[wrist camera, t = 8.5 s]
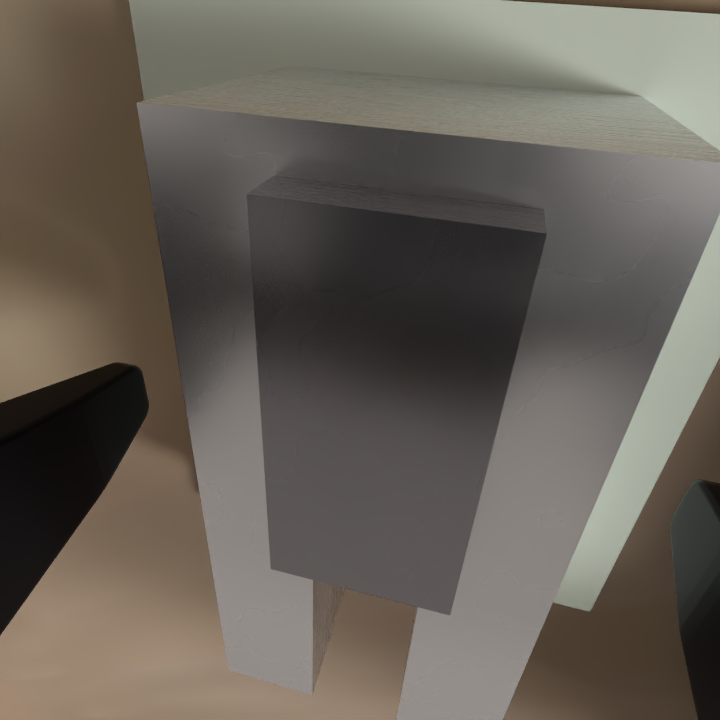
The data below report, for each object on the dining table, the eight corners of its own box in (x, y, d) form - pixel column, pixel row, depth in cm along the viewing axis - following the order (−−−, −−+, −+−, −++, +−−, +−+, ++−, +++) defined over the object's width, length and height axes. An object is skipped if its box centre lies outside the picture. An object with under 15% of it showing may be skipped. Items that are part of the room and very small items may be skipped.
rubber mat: (587, 589, 13) (590, 611, 13) (217, 500, 15) (207, 516, 15) (862, 23, 7) (889, 25, 6) (147, -22, 9) (124, -24, 8)
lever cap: (497, 560, 13) (488, 788, 9) (298, 513, 14) (213, 702, 10) (642, 96, 7) (771, 186, 4) (290, 66, 8) (92, 112, 4)
